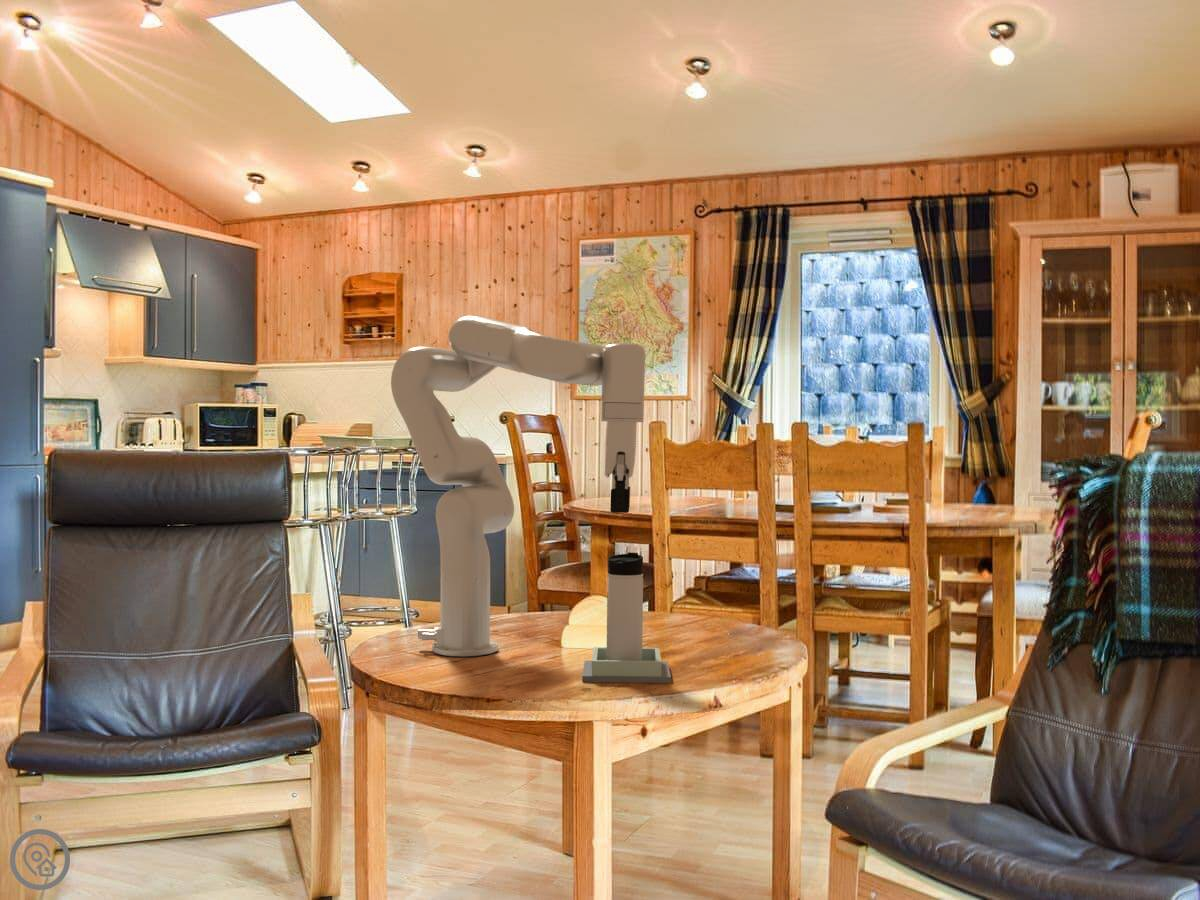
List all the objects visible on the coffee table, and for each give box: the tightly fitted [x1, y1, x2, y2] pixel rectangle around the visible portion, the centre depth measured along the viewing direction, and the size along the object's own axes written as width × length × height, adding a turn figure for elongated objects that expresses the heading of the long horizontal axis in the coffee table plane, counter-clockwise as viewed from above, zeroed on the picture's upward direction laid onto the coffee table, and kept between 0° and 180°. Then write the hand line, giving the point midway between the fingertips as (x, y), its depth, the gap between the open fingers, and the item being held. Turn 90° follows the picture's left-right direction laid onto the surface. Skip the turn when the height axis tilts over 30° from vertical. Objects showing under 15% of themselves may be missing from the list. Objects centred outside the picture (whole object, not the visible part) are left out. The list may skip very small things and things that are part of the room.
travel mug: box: [606, 551, 644, 661], centre depth 187 cm, size 6×7×20 cm
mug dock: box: [581, 646, 672, 684], centre depth 187 cm, size 15×12×4 cm
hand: (620, 510), depth 190 cm, fingers open, 9 cm apart
